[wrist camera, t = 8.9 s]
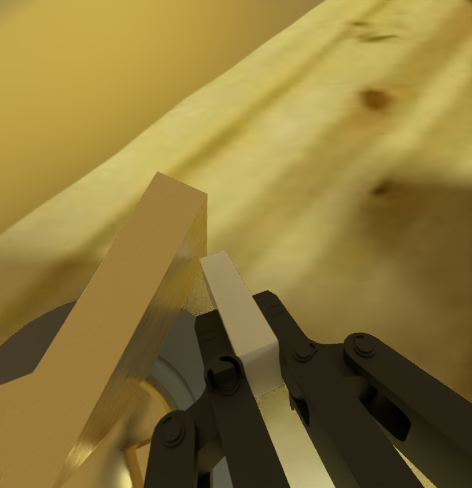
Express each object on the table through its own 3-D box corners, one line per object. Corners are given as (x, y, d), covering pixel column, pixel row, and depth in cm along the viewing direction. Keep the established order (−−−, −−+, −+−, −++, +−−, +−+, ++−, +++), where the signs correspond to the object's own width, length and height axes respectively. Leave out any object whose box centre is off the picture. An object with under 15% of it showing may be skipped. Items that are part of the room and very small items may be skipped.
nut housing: (131, 246, 25) (113, 228, 20) (304, 427, 22) (331, 457, 17) (-116, 451, 19) (-226, 496, 14) (81, 732, 16) (29, 904, 11)
